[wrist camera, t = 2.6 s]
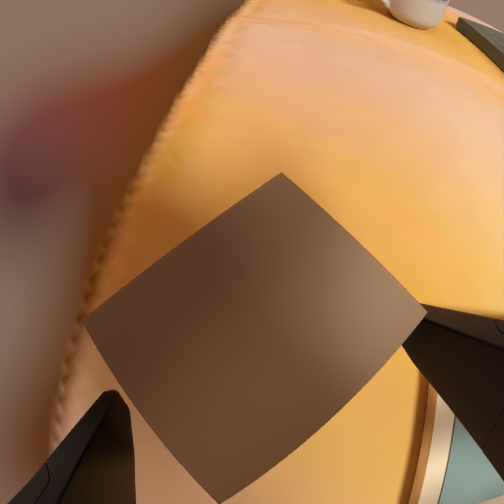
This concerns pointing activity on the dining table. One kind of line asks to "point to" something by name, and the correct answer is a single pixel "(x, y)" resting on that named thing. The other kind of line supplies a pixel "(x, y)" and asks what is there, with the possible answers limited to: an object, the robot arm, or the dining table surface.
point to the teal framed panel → (452, 462)
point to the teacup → (417, 11)
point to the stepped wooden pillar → (252, 334)
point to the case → (484, 39)
